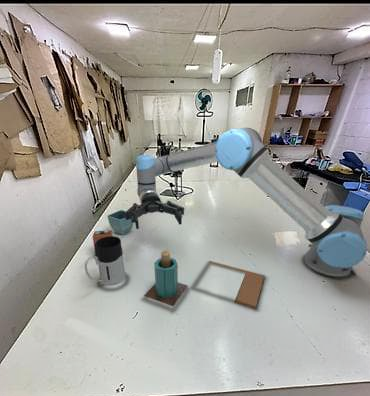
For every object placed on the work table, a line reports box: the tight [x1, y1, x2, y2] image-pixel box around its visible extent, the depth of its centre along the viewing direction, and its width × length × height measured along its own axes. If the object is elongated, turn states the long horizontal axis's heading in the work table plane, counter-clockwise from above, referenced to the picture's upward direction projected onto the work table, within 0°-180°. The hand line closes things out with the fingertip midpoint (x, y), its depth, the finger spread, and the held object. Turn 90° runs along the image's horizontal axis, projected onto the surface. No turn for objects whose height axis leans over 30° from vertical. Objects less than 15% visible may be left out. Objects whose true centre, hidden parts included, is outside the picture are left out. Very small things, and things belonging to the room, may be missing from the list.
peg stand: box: [143, 250, 189, 308], centre depth 70 cm, size 10×10×15 cm
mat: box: [208, 260, 265, 310], centre depth 78 cm, size 20×16×1 cm
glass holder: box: [84, 235, 126, 286], centre depth 73 cm, size 9×14×15 cm, turn 155°
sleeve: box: [153, 257, 179, 298], centre depth 70 cm, size 6×6×10 cm
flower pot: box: [106, 209, 134, 236], centre depth 110 cm, size 9×9×9 cm
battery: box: [92, 229, 114, 257], centre depth 93 cm, size 4×7×10 cm, turn 100°
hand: (159, 222), depth 73 cm, fingers open, 13 cm apart
